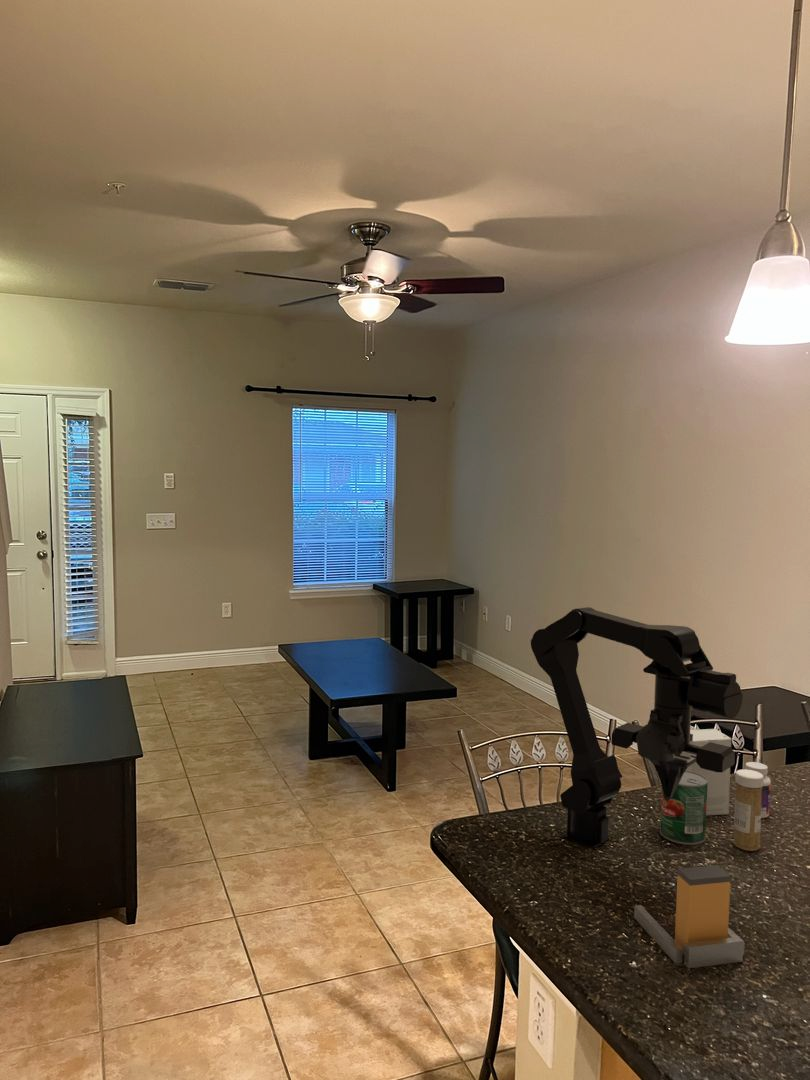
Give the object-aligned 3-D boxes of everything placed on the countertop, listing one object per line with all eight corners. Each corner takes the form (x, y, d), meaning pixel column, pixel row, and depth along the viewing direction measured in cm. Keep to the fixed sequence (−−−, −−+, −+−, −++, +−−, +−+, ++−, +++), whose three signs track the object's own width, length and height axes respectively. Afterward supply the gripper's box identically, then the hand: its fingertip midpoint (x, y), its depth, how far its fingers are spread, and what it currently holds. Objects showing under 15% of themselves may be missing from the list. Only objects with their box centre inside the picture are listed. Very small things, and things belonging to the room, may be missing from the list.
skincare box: (713, 802, 156) (716, 727, 155) (730, 816, 150) (734, 738, 149) (674, 803, 155) (677, 728, 154) (690, 817, 149) (693, 739, 148)
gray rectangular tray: (620, 909, 115) (621, 884, 115) (681, 902, 118) (682, 879, 117) (680, 976, 100) (681, 948, 99) (749, 967, 102) (750, 940, 101)
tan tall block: (674, 944, 105) (677, 868, 104) (713, 940, 106) (717, 865, 105) (686, 958, 102) (690, 879, 101) (727, 953, 103) (730, 875, 102)
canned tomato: (651, 833, 142) (653, 775, 141) (675, 822, 146) (678, 766, 146) (689, 849, 135) (692, 788, 135) (714, 837, 140) (716, 779, 139)
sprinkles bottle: (765, 851, 135) (769, 777, 134) (741, 852, 134) (745, 778, 134) (750, 839, 140) (753, 767, 139) (727, 840, 139) (730, 768, 138)
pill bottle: (774, 819, 149) (776, 770, 148) (746, 818, 149) (748, 769, 148) (761, 807, 154) (764, 760, 153) (734, 807, 154) (737, 760, 153)
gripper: (596, 701, 125) (593, 794, 126) (710, 727, 112) (705, 830, 113) (628, 689, 133) (625, 777, 134) (738, 712, 121) (733, 808, 122)
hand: (668, 797), depth 126 cm, fingers closed
